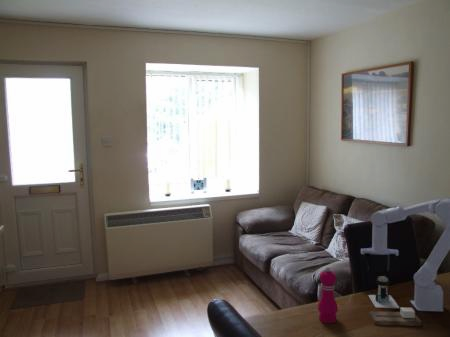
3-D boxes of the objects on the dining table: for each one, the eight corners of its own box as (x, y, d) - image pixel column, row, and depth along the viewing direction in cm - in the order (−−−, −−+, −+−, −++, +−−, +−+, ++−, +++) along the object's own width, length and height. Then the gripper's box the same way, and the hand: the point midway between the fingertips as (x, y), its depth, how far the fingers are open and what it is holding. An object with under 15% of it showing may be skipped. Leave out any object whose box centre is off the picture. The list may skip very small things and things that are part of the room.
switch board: (413, 316, 141) (413, 312, 141) (421, 325, 134) (421, 321, 134) (369, 315, 143) (369, 310, 143) (374, 324, 136) (374, 320, 136)
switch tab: (411, 314, 139) (411, 307, 139) (414, 318, 136) (414, 311, 136) (400, 313, 140) (400, 307, 139) (403, 317, 137) (403, 311, 136)
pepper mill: (338, 315, 143) (338, 264, 141) (337, 325, 136) (337, 271, 134) (318, 313, 145) (318, 262, 143) (316, 322, 139) (316, 269, 137)
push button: (387, 297, 156) (387, 274, 155) (395, 303, 151) (396, 279, 150) (372, 299, 155) (373, 275, 154) (380, 305, 150) (381, 280, 149)
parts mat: (390, 296, 158) (390, 295, 158) (399, 308, 147) (399, 307, 147) (368, 295, 159) (368, 294, 159) (375, 307, 148) (375, 307, 148)
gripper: (362, 241, 155) (362, 273, 156) (400, 242, 152) (400, 275, 153) (360, 236, 162) (359, 267, 163) (396, 237, 159) (395, 269, 160)
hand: (379, 271), depth 159 cm, fingers open, 7 cm apart
